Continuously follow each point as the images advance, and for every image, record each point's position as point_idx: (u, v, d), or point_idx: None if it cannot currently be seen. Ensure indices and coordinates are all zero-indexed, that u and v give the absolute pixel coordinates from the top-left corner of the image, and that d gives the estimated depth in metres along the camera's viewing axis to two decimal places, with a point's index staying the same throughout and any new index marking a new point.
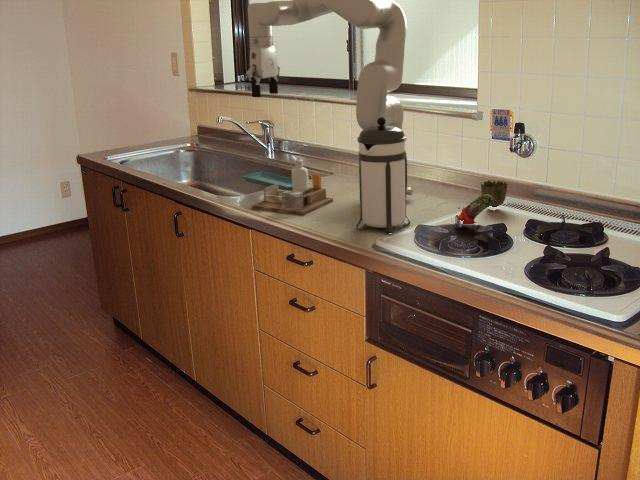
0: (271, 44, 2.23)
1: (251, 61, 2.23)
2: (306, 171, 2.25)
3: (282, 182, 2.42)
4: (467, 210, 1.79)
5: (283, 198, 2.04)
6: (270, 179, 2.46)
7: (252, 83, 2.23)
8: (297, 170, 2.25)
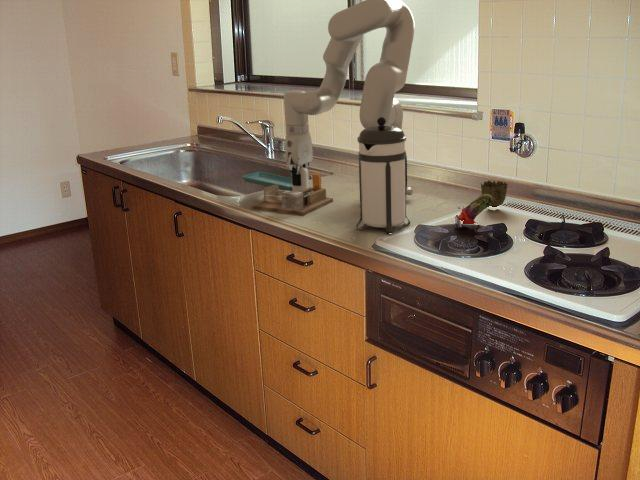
0: (307, 131, 2.21)
1: (287, 149, 2.20)
2: (306, 171, 2.25)
3: (282, 182, 2.42)
4: (467, 210, 1.79)
5: (283, 198, 2.04)
6: (269, 179, 2.46)
7: (293, 173, 2.23)
8: None
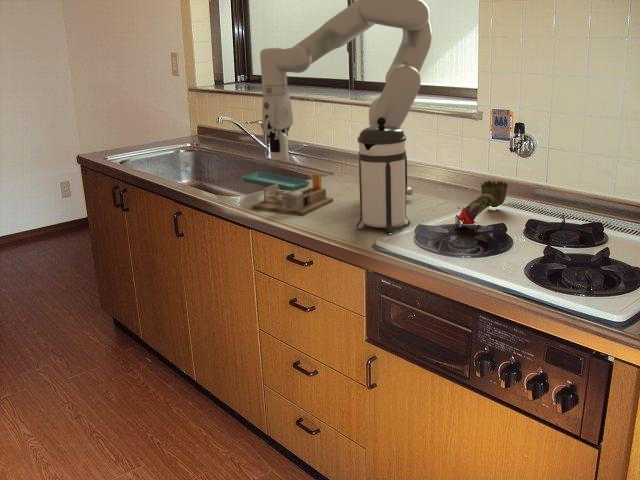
0: (285, 93, 2.04)
1: (264, 111, 2.04)
2: (285, 136, 2.08)
3: (282, 182, 2.42)
4: (467, 210, 1.79)
5: (283, 198, 2.04)
6: (269, 179, 2.46)
7: (271, 138, 2.07)
8: None
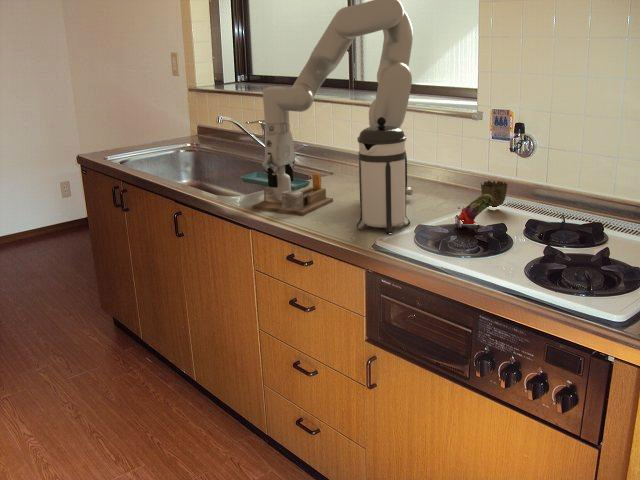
0: (288, 130, 2.07)
1: (266, 149, 2.07)
2: (289, 177, 2.12)
3: None
4: (467, 210, 1.79)
5: (283, 198, 2.04)
6: None
7: (268, 173, 2.08)
8: (279, 176, 2.12)
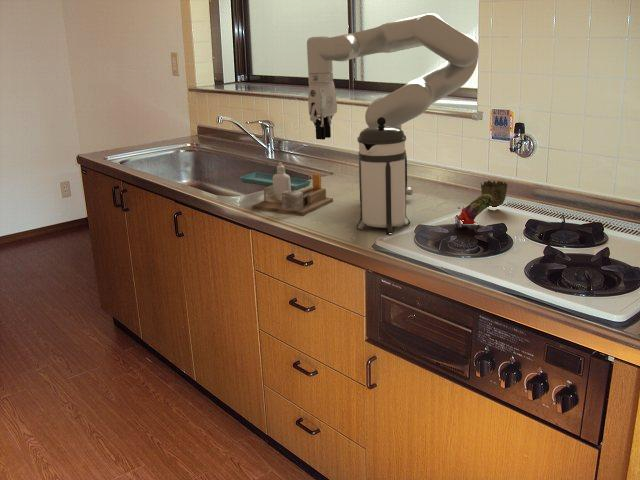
0: (331, 80, 2.07)
1: (310, 99, 2.07)
2: (288, 177, 2.12)
3: None
4: (467, 210, 1.79)
5: (283, 198, 2.04)
6: (267, 179, 2.46)
7: (317, 125, 2.11)
8: (278, 176, 2.12)
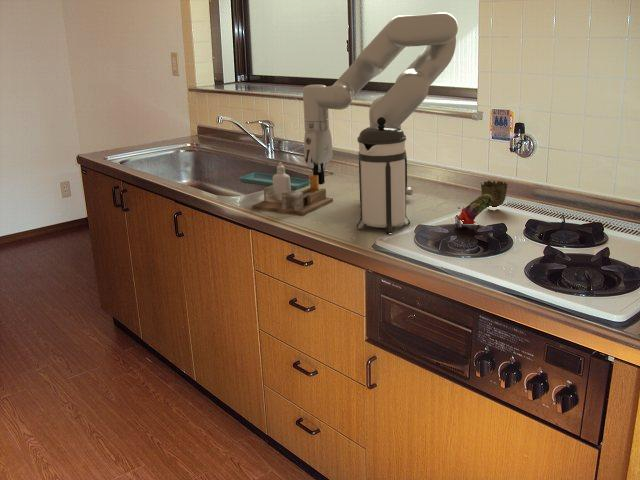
0: (327, 128, 2.09)
1: (305, 146, 2.09)
2: (288, 177, 2.12)
3: None
4: (467, 210, 1.79)
5: (283, 198, 2.04)
6: (267, 179, 2.46)
7: (314, 170, 2.13)
8: (278, 176, 2.12)
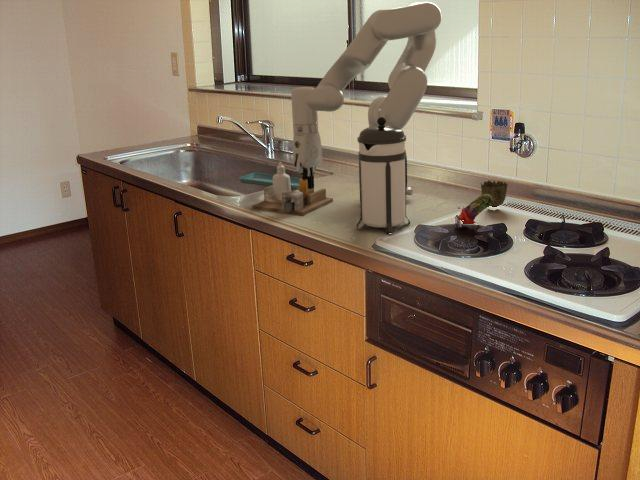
0: (316, 131, 2.04)
1: (294, 150, 2.04)
2: (288, 177, 2.12)
3: None
4: (467, 210, 1.79)
5: (283, 198, 2.04)
6: (266, 179, 2.46)
7: (303, 175, 2.08)
8: (278, 176, 2.12)
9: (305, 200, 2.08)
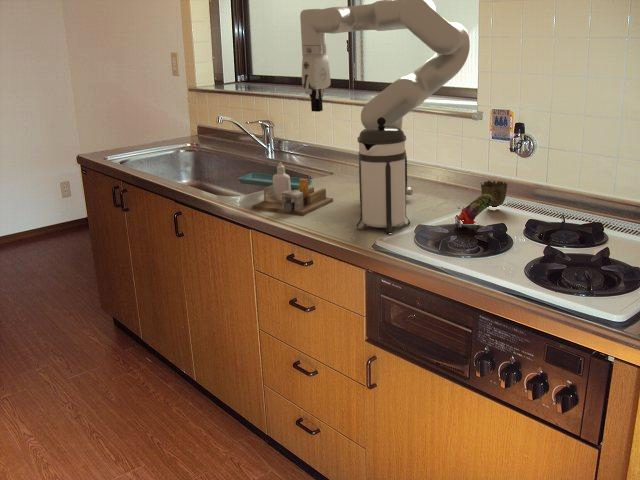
0: (325, 53, 2.09)
1: (303, 71, 2.09)
2: (288, 177, 2.12)
3: None
4: (467, 210, 1.79)
5: (283, 198, 2.04)
6: (265, 180, 2.46)
7: (312, 97, 2.13)
8: (278, 176, 2.12)
9: (305, 200, 2.08)
